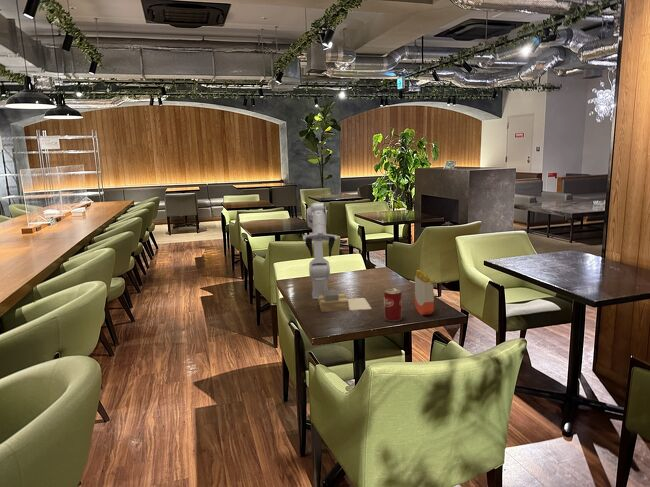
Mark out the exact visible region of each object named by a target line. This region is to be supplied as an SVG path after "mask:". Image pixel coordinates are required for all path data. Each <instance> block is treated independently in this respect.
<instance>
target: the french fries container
mask: <svg viewBox="0 0 650 487" xmlns="http://www.w3.org/2000/svg"><path fill="white" fill-rule="evenodd" d="M415 272H416V274H415V276H414V304H415V305H414V306H415V309H416V311H417V312H418V313H419V314H420V315H421V316H427V315H432V313H433V312H434V311H435V310H434V309H435V307H434V306H435V304H434V303H435V298H434V297H435V296H434V292H435V290H434V282H435V281H434V280H431V278H430V277H428V274H427V273H426V274H425V273H424V272H422V271H421V269H417V270H415Z"/></svg>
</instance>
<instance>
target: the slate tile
mask: <svg viewBox="0 0 650 487" xmlns="http://www.w3.org/2000/svg"><path fill="white" fill-rule="evenodd" d="M338 293H339V292H338V290H336V289H328V290H323V297H324V299H325V301H338V300H339V295H338Z"/></svg>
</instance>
